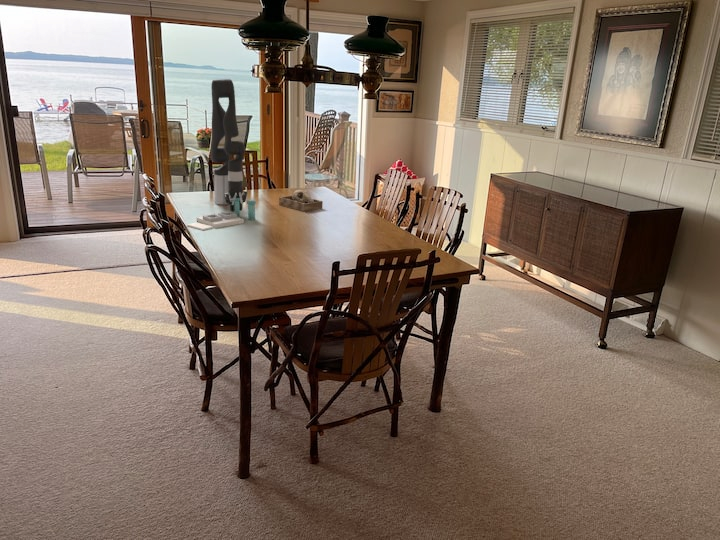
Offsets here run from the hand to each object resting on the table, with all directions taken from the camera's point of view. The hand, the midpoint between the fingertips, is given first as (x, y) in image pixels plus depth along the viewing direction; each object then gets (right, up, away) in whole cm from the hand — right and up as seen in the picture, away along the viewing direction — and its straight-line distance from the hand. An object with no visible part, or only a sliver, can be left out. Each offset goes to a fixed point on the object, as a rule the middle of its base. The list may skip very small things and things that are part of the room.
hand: (236, 210), depth 286 cm
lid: (-12, -11, -25) cm, 30 cm away
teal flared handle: (0, -3, +1) cm, 3 cm away
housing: (-5, -7, -13) cm, 16 cm away
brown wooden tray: (+32, +6, +30) cm, 44 cm away
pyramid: (-17, +26, +82) cm, 87 cm away
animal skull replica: (+33, +5, +30) cm, 45 cm away
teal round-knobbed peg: (+9, -5, -4) cm, 12 cm away
